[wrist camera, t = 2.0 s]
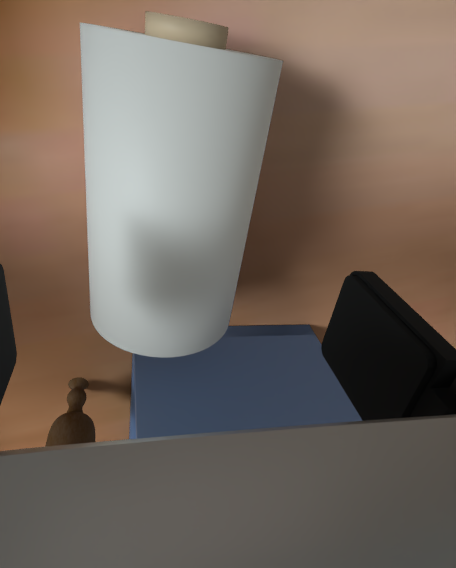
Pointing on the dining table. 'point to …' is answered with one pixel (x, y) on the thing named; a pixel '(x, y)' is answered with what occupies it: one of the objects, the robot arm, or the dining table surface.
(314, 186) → the dining table surface
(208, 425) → the holder
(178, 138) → the roll
